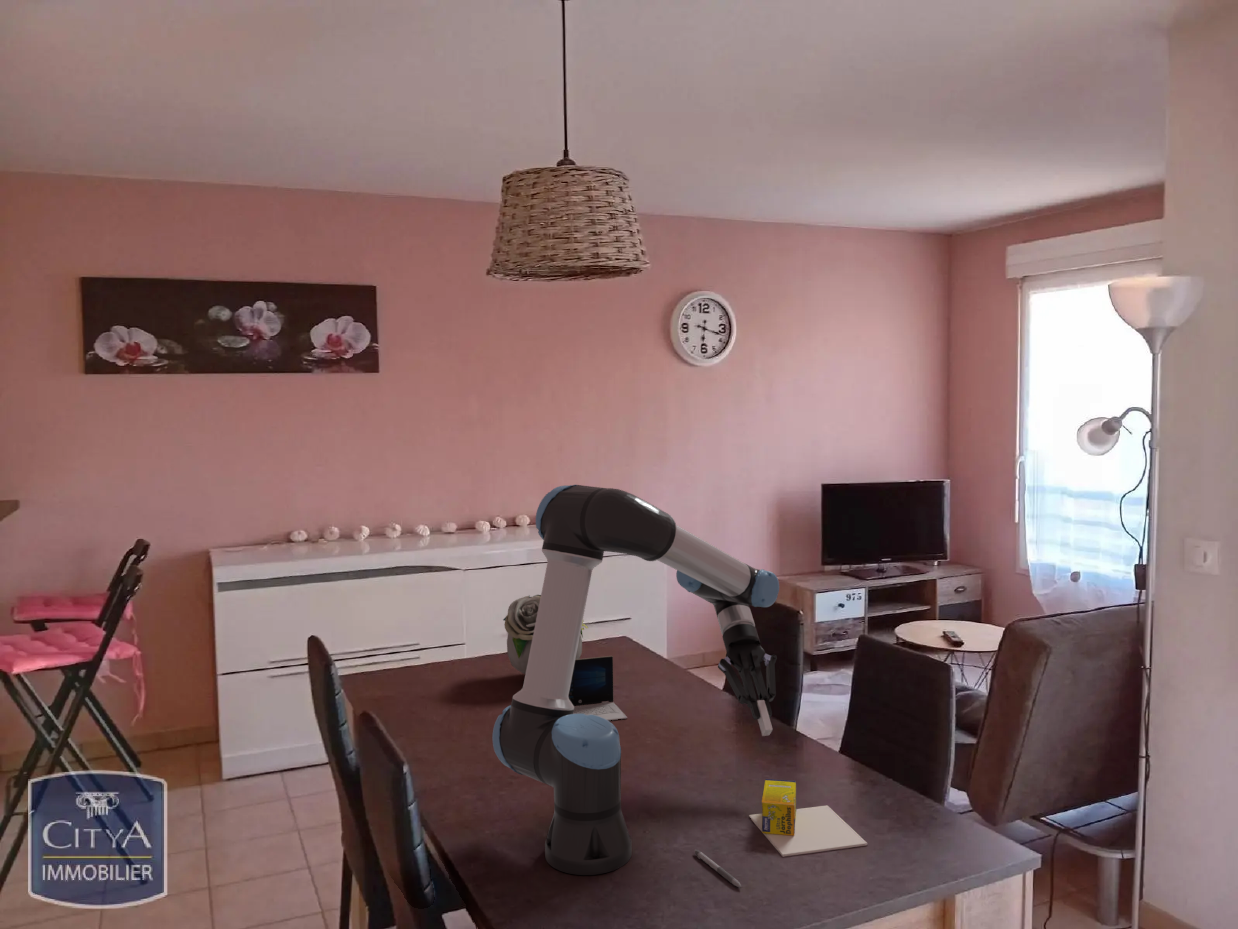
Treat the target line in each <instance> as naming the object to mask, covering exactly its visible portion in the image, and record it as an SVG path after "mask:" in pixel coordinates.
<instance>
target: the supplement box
mask: <svg viewBox="0 0 1238 929" xmlns="http://www.w3.org/2000/svg"><path fill="white" fill-rule="evenodd" d="M760 802H761V803H760V804H761V814H762V832H761V833H762V834H763V833H766V834H779V835H791V836H794V834H795V820H796V809H797V781H796V780H786V779H785V780H784V779H773V778H765V779H764V786H763V792H762V797H761V801H760Z"/></svg>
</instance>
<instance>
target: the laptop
mask: <svg viewBox="0 0 1238 929" xmlns="http://www.w3.org/2000/svg"><path fill="white" fill-rule="evenodd" d="M568 697H569V700H570V701H571V703H572V704H573V706H574V712H573V714H585V715H590V714H591V715H596V716H599V717H602V718H604V719H606V720H608V721H609V722H612V721H618V719H621V720H626V719H628V716H626V714H625V713H624V711H622V710H621V709H620V707H619V706H618V705H616V704H615V701H614V698H615V697H614V656H613V655H607V656H596V657H586V658H585V657H584V658H580V659H575V664H574V669H573V674H572V679H571V685H570V690H569V695H568ZM611 720H612V721H611Z"/></svg>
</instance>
